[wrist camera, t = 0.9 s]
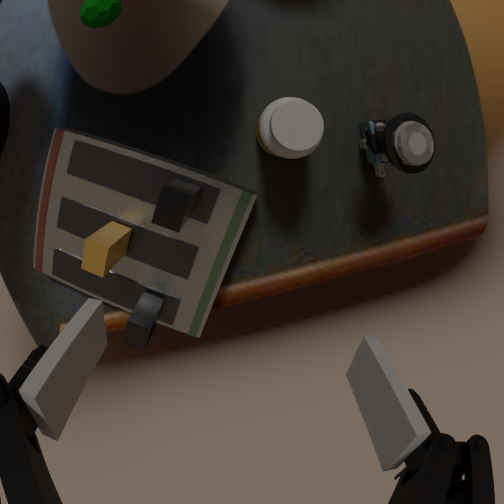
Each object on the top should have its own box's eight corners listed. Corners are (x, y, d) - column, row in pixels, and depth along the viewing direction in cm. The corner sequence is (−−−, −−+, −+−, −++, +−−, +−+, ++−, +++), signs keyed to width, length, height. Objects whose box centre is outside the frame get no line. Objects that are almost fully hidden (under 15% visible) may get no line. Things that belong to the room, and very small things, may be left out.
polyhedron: (128, 23, 23) (113, 8, 19) (92, 38, 23) (73, 27, 19) (125, -6, 21) (111, -22, 17) (90, 10, 21) (73, -3, 17)
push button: (395, 171, 30) (446, 185, 21) (356, 179, 31) (399, 195, 21) (385, 116, 28) (435, 110, 19) (344, 122, 28) (385, 114, 19)
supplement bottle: (290, 165, 30) (311, 174, 21) (245, 140, 29) (247, 137, 20) (315, 124, 28) (345, 116, 19) (271, 98, 27) (284, 77, 18)
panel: (44, 259, 33) (4, 289, 24) (68, 128, 27) (18, 128, 18) (202, 323, 36) (192, 374, 28) (255, 191, 31) (261, 210, 22)
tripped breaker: (106, 246, 29) (81, 268, 23) (112, 220, 28) (85, 238, 22) (125, 253, 29) (103, 277, 24) (132, 228, 28) (108, 248, 23)
